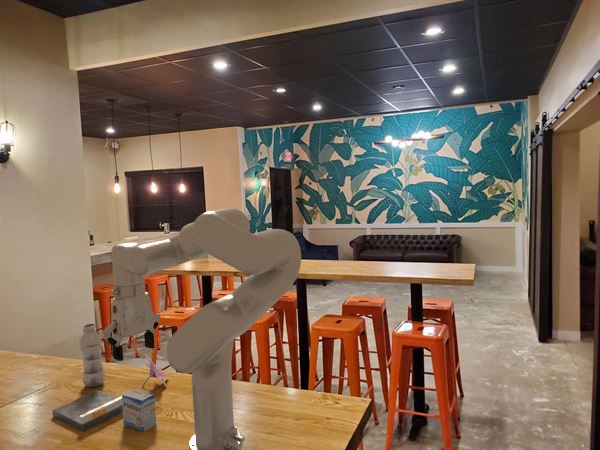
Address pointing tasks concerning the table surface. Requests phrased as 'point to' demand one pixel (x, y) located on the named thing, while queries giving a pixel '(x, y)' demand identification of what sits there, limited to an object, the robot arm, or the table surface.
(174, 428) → the table surface
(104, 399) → the white-edged grey panel
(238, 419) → the table surface
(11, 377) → the table surface
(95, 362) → the plastic bottle
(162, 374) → the lily
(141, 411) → the medicine box
